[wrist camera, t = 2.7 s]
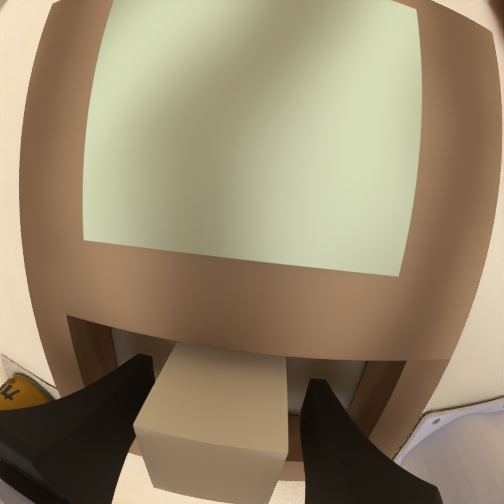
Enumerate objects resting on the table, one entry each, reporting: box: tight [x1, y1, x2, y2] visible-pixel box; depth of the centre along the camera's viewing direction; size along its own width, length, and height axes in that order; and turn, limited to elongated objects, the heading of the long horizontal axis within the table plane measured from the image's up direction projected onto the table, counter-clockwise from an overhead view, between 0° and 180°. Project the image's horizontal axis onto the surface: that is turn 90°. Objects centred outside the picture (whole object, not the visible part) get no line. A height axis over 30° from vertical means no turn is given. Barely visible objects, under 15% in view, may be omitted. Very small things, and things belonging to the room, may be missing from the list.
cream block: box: [133, 341, 288, 504], centre depth 9 cm, size 4×4×6 cm
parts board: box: [19, 0, 502, 481], centre depth 9 cm, size 16×20×3 cm
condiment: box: [0, 355, 61, 461], centre depth 10 cm, size 7×8×12 cm
